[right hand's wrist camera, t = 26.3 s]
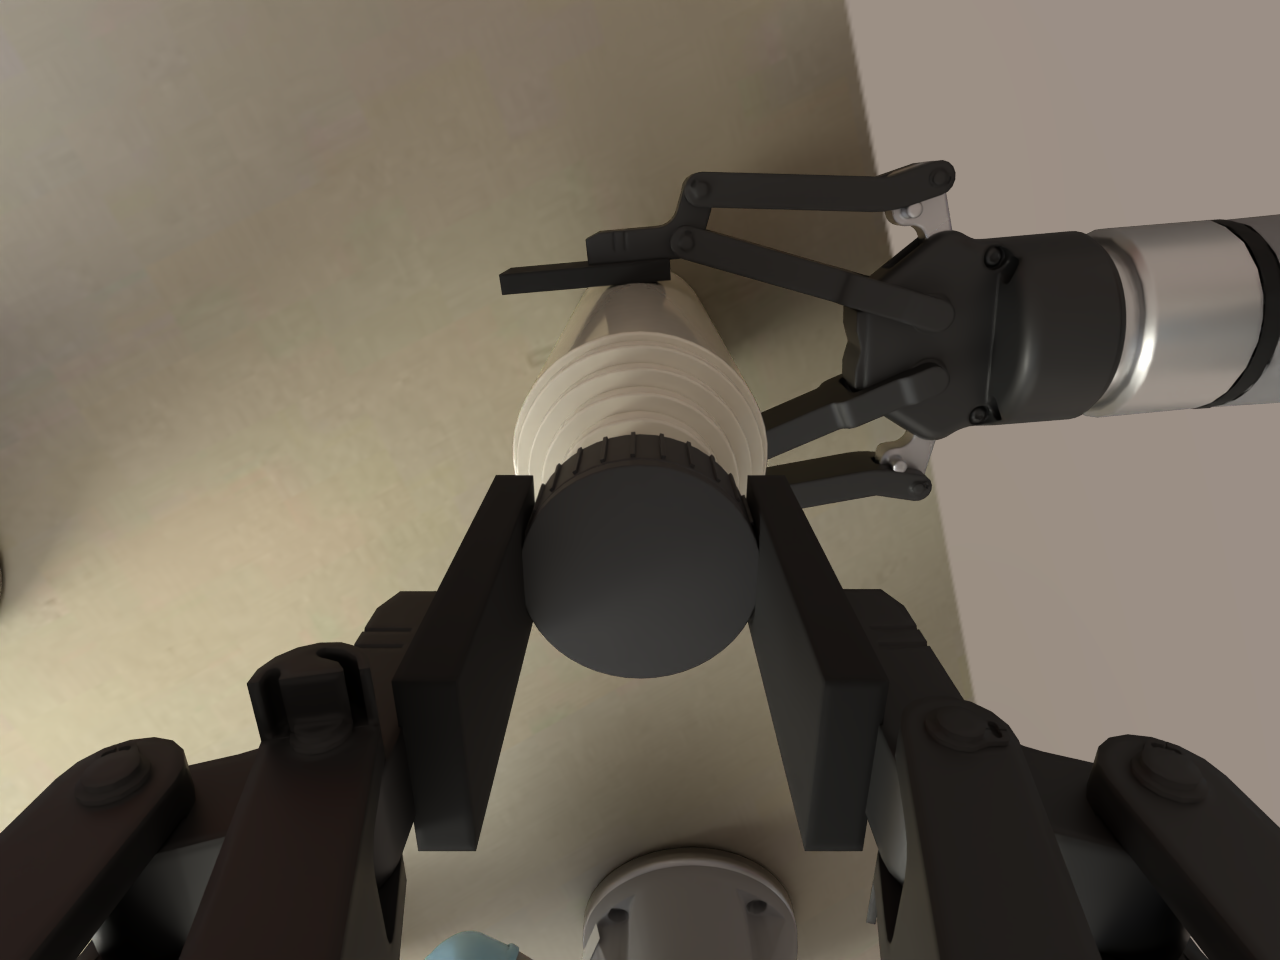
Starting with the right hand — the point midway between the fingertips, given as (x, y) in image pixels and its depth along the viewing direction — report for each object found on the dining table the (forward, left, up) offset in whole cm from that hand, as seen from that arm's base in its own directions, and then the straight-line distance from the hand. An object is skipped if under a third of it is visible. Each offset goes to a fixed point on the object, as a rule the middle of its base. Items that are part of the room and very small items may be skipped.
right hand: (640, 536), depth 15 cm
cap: (0, 0, +2) cm, 2 cm away
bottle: (0, 0, -23) cm, 23 cm away
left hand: (-2, +5, -16) cm, 17 cm away
